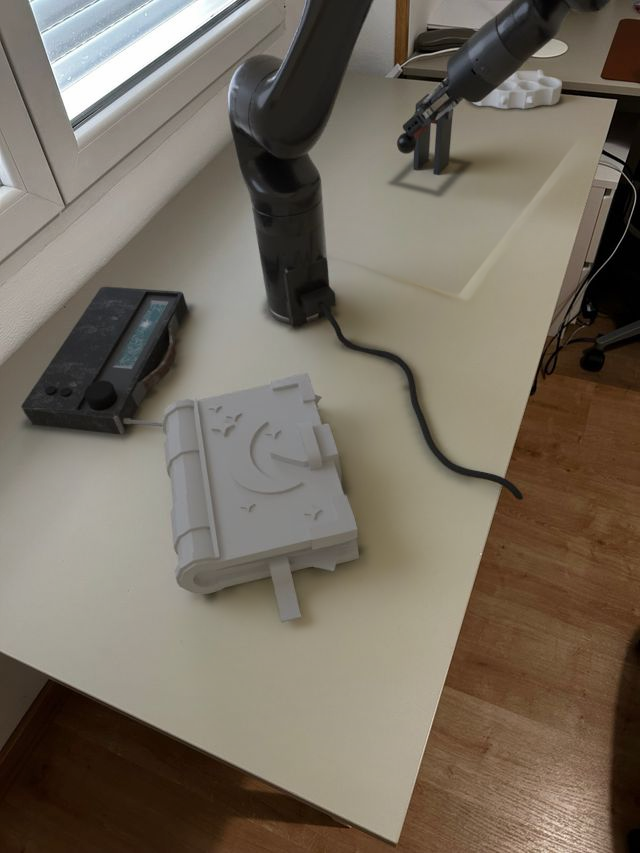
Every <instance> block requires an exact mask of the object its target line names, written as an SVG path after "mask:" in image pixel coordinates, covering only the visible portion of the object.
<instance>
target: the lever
mask: <svg viewBox="0 0 640 853" xmlns="http://www.w3.org/2000/svg"><path fill="white" fill-rule="evenodd" d="M430 123H431V124H433V125H436V124H437V120H434V121H433V120H432V121H431V122H430ZM430 123H429V124H430ZM429 124H428V125H429ZM428 125H427V126H428ZM427 126H426V127H427ZM426 127H424V128H421V129H420V130H419V131H417V132H416V133H415V134H414V135H413V136H411V137H410V136H408V135H407V133H406V132H403V133H401V134H400V135H399V136H398V138H397V141H396V147H397V149H398V151H399V152H400V153H402V154H404V155H408V154H411V153H412V152H414V149H415V148H416V145H417V141H416V139H417V138H418V137H419V135H420V134H421V133H422V132H423V131H424V130H425V129H426Z"/></svg>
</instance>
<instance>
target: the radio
mask: <svg viewBox="0 0 640 853" xmlns="http://www.w3.org/2000/svg"><path fill="white" fill-rule="evenodd" d="M188 310H189V309H188V306H187V301H186V298H185V295H184V292H183V291H177V290H176V291H175V290H164V289H163V290H161V289H147V288H132V287H118V286H117V287H116V286H101V287H100V288H99V289H98V291H97V293H96V294H95V295H94V296H93V298H92V300H91V301H90V302H89V304H88V306H87V307H86V309H85V310H84V311H83V313H82V315H81V316H80V318H79V319H78V321H77V322H76V324H74V326H73V328H72V329H71V331H70V333H69V334H68V336H66V339H65V340H64V342H62V344H61V346H60V347H59V349H58V350H57V352H56V353H55V355H54V356H53V358H52V359H51V361H50V362H49V364H47V367H46V368H45V370H43V372H42V373H41V375H40V377H39V379H38V380H37V381H36V383H35V385H34V386H33V387H32V389H31V391H30V392H29V394H27V396H26V398H25V399H24V400H23V403H22V404H21V406H20V409H21V410H22V412H23V413H24V415H25V416H26V418H27V419H28V421H29V423H30V424H31V425H33V426H34V425H35V426H42V427H43V426H44V427H52V428H53V427H54V428H61V429H62V428H63V429H71V430H80V431H88V432H98V433H107V434H115V435H123V434H125V433H126V431H127V429H128V427H129V426H130V425H132V424H133V425H139V426H140V425H141V426H152V427H159V428H163V427H162V422H160V421H159V422H158V421H148V420H139V419H133V417H134V415H135V413H136V411H137V409H138V408H139V407H140V405H141V403H142V401H143V400H144V398H145V397H146V395H147V392H148V391H150V390H151V389H152V388H153V387H155V386H156V385H157V384H158V383H159V382H161V381H162V380H164V378H165V377H166V376H167V374H168V373H169V372H170V371H171V369H172V367H173V365H174V363H175V358H176V354H177V352H176V351H177V350H176V341H175V338H176V337H177V334H178V330H179V328H180V326H181V323H182V322H183V320H184V318H185V316H186V314H187V312H188Z"/></svg>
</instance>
